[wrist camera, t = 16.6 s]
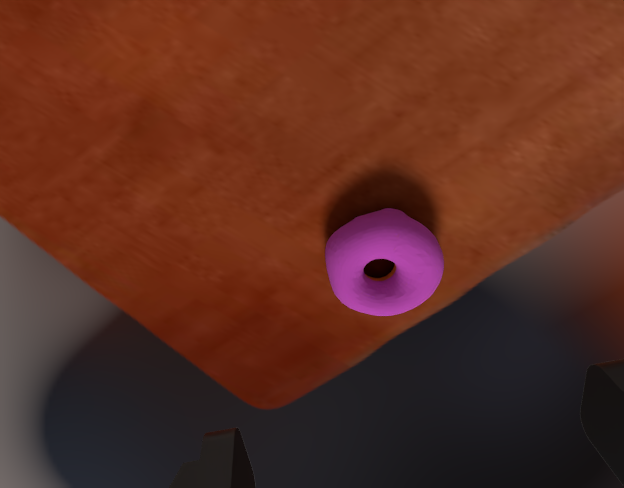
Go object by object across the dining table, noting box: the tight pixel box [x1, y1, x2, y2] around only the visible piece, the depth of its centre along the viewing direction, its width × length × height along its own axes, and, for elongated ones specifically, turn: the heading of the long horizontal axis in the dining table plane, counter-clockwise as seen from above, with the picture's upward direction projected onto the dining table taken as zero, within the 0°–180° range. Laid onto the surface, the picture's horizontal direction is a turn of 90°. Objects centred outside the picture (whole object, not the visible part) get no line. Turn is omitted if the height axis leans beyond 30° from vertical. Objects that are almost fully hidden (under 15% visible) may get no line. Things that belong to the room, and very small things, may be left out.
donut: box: [325, 208, 444, 316], centre depth 42 cm, size 10×10×5 cm
